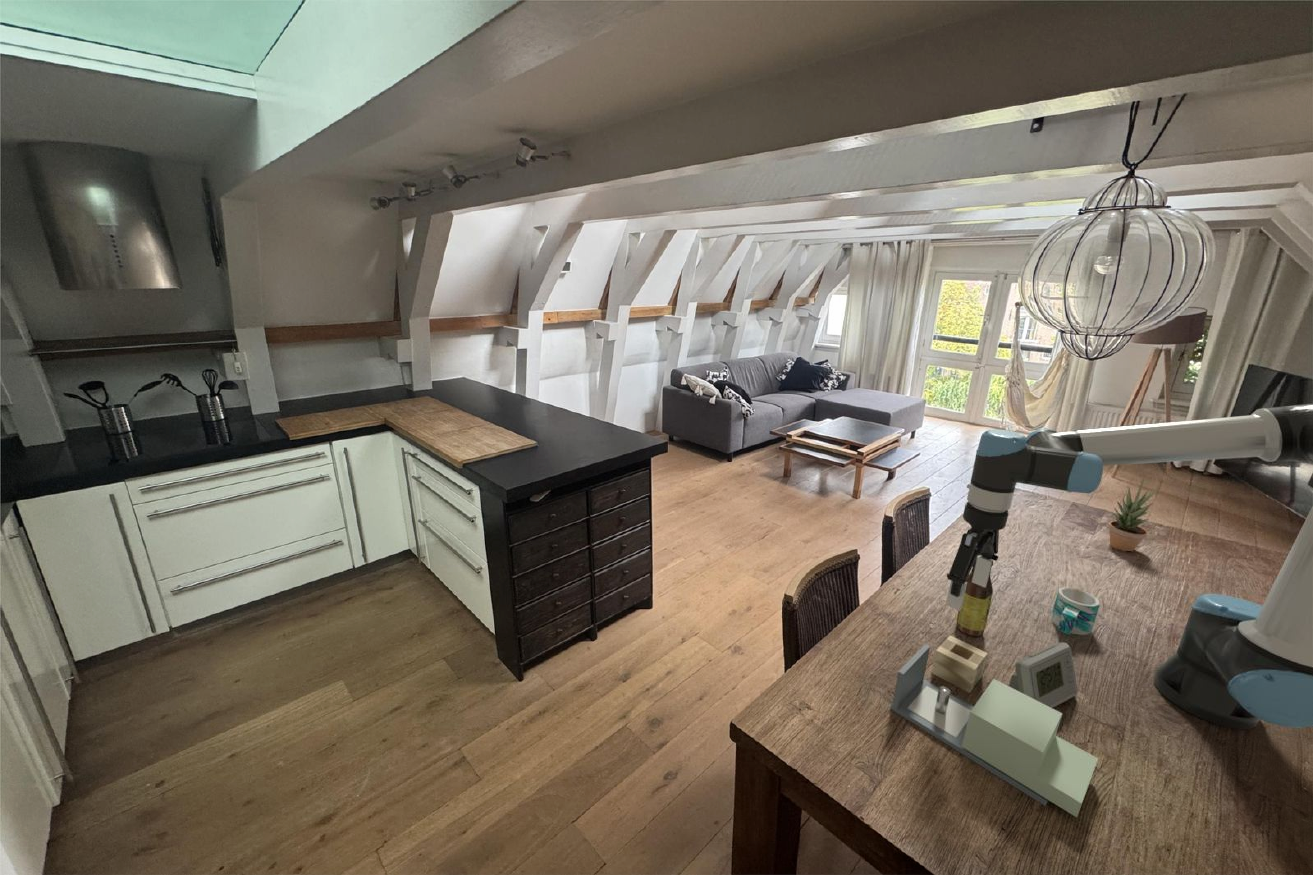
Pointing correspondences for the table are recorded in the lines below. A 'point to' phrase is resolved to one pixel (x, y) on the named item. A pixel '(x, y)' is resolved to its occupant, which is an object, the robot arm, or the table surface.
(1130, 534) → the potted plant
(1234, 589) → the table surface
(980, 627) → the sauce bottle
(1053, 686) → the digital clock
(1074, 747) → the sage cover
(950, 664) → the birch collar
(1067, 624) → the mug
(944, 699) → the steel pin
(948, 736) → the housing base
